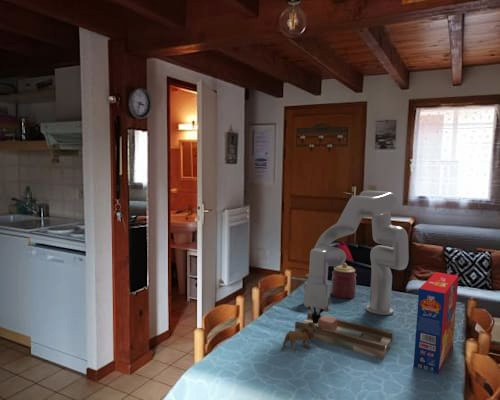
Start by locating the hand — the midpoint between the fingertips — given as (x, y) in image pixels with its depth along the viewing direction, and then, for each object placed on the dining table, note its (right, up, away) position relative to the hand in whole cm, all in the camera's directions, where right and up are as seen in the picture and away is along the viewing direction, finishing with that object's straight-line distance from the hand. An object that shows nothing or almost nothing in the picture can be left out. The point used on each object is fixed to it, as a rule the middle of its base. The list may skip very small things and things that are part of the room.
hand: (315, 322), depth 161 cm
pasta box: (+41, -7, -16) cm, 45 cm away
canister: (+23, -1, +50) cm, 55 cm away
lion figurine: (-9, -5, -13) cm, 17 cm away
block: (+4, -2, -3) cm, 5 cm away
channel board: (+10, -5, -5) cm, 12 cm away
